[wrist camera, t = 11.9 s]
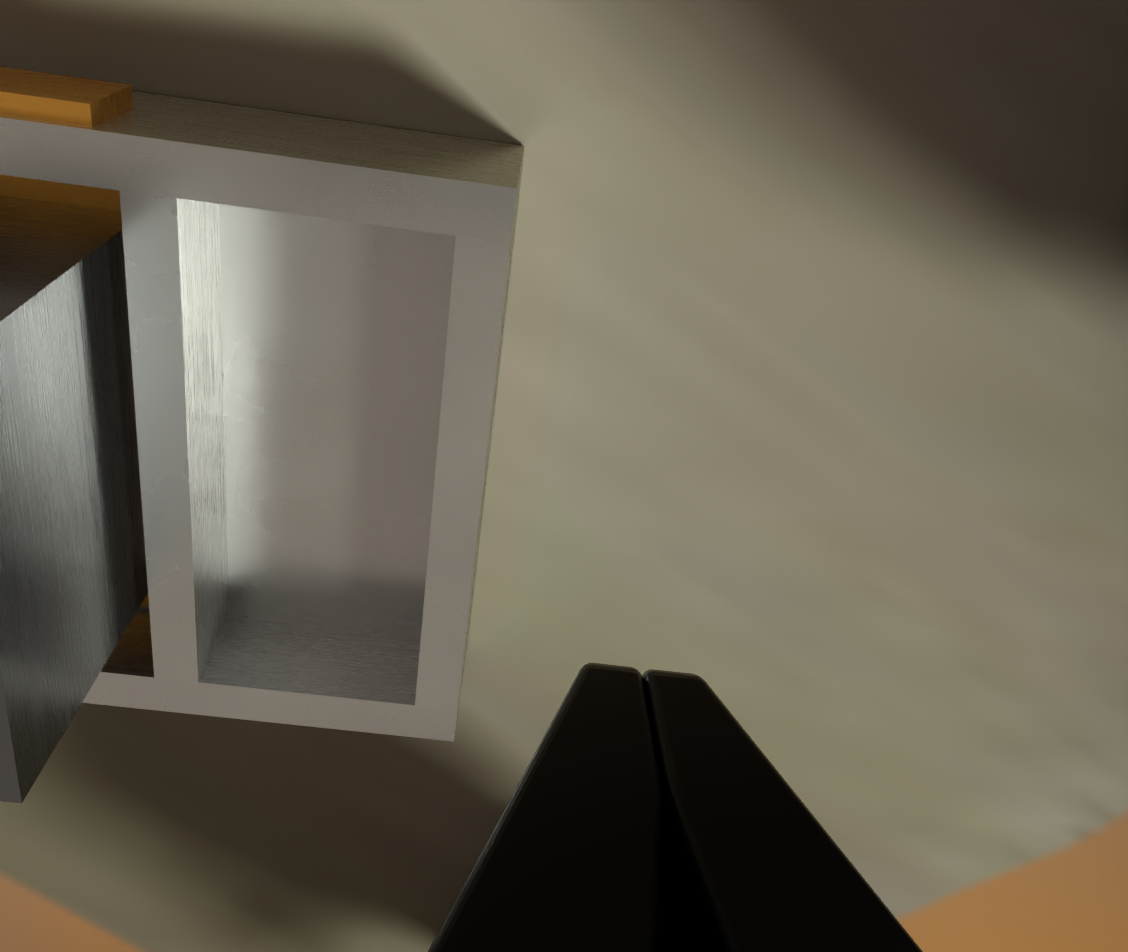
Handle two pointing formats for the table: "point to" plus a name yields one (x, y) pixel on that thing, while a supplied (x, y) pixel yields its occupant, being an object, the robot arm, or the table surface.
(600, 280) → the table surface
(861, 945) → the robot arm
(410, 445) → the rack
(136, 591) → the dark grey block
